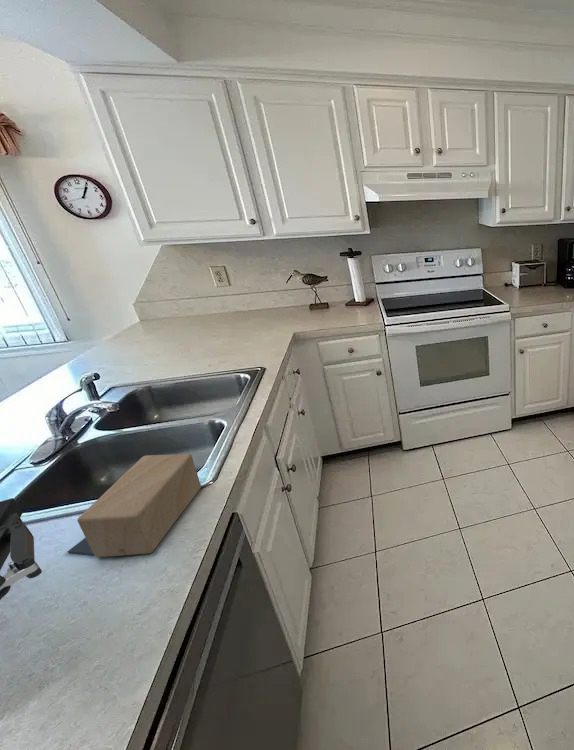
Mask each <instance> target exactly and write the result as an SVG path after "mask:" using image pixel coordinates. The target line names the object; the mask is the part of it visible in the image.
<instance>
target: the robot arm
mask: <svg viewBox="0 0 574 750" xmlns="http://www.w3.org/2000/svg"><path fill="white" fill-rule="evenodd" d="M23 513H24V511H23V510H22V508H21V507H20V505H18V503H17V501H16V500H15V498H14V497H11V498H8V499H3V500H1V501H0V571H1V570H2V568H3V566H4V565H5V562H6V561H7V559H8V557H10V560H11V561H9V562H8V564H7V566H8V569H7V572H6V573H5V575H1V574H0V601H1V600H2V599H3V598H4V597H5V596H6V595H8V593H9V592H10V590H11V587H12V586H11V585H13V584H15V583H17V582H18V581H20V580H22V579H24V578H27V579H34V578H36V577H39V576H40V575H41V574H42V572H43V570H42V569H41V567H40V565H39V564H38V563H37V561H36V560H35V536H34V535H33V534H32V533H33V532H31V530H30V529H29V528H28V526H27V525H26V524H25V522H24V521H23V520H22V518H21V517H22V515H23Z"/></svg>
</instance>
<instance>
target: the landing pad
mask: <svg viewBox="0 0 574 750" xmlns="http://www.w3.org/2000/svg"><path fill="white" fill-rule="evenodd" d="M67 553H68V554H75V555H85V556H94V554H93V552H92V550H91V547H90V545H89V543H88V541H87V539H86V537H84V538H83V539H82V540H80V541H79V542H78V543H76V544H75V545H74V546H72V547H71V548H70V549H69V550H67ZM108 557H109V556H107V557H106V558H108Z"/></svg>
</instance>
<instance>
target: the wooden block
mask: <svg viewBox="0 0 574 750" xmlns="http://www.w3.org/2000/svg"><path fill="white" fill-rule="evenodd" d="M201 488H202V485H201V481H200V477H199V475H198V472H197V468H196V464H195V462H194V459H193V456H192V454H191V453H179V454H153V455H152V454H150V455H143V456H142V457H140V458H139V459H138V460H137V461H136V462H135V463H134V464H133V465H132V466H131V467H130V468H129V469H128V470H127V471H125V473H124V474H122V476H121V477H120V478H119V479H118V480H116V482H114V483H113V484H112V485H111V486H110V487H109V488H108V489H107V490H106V491H105V492H104V493H103V494H102V495H100V497H98V498H97V500H95V501H94V502H93V503H92V504H91V505H90V506H89V507H88V508H87V509H86V510H85V511H84V512H83V513H82V514H81V515H79V517H78V518H77V524H78V525H79V527H80V529H81V531H82V533H83V535H84V538H86V539H87V541H88V543H89V545H90V547H91V550H92V552H93V554H94V555H93V556H94V557H95V558H104V557H105V558H108V557H119V556H132V555H134V556H135V555H147V554H148V555H149V554H151V553H153V552H154V551H155V550H156V548H157V547H158V545H159V544H160V543H161V542H162V540H163V539H164V538H165V536H166V535H167V533H168V532H169V531H170V529H171V528H172V527H173V526H174V524H175V523H176V522H177V520H178V519H179V518H180V517H181V515H182V513H184V511H185V510H186V509H187V507H188V506H189V505H190V503H191V502H192V501H193V499H194V498H195V497H196V495H197V494H198V492H199V491H200V490H201ZM107 556H108V557H107Z"/></svg>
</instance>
